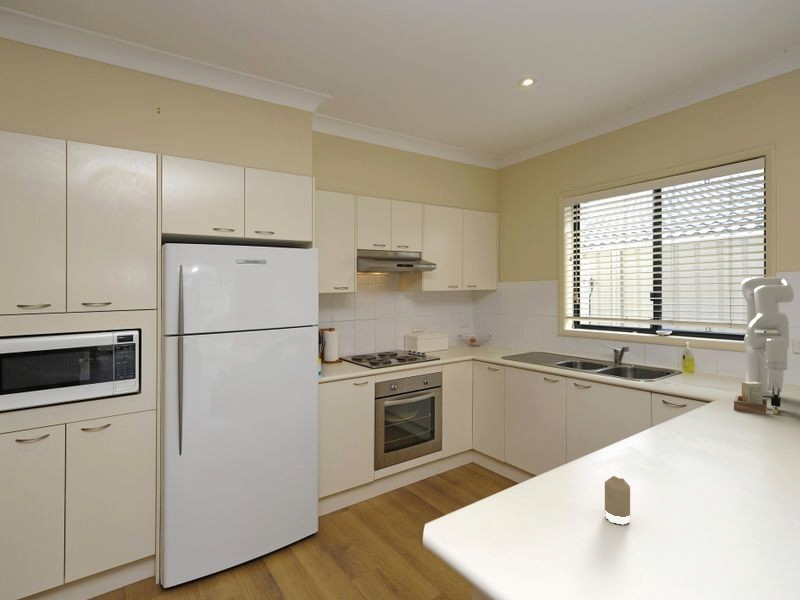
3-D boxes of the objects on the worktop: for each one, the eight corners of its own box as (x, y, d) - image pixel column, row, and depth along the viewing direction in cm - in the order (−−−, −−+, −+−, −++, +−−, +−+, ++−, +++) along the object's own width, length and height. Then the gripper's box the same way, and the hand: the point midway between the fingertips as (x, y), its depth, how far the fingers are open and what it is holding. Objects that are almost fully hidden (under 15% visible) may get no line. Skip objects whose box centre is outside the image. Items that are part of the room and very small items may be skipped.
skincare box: (756, 407, 194) (756, 381, 193) (763, 410, 189) (763, 383, 189) (740, 407, 195) (741, 381, 194) (747, 410, 190) (747, 383, 190)
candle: (600, 514, 105) (600, 474, 105) (621, 512, 106) (621, 473, 106) (613, 526, 100) (613, 484, 100) (635, 525, 100) (635, 483, 100)
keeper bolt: (773, 408, 191) (773, 403, 191) (777, 409, 190) (777, 403, 190) (772, 413, 184) (772, 407, 184) (777, 414, 183) (777, 408, 183)
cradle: (736, 403, 201) (736, 395, 201) (766, 407, 194) (766, 399, 194) (733, 409, 191) (733, 400, 191) (766, 414, 184) (766, 405, 184)
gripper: (765, 362, 199) (765, 401, 199) (764, 367, 188) (764, 408, 188) (787, 364, 194) (786, 404, 194) (787, 369, 183) (787, 411, 183)
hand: (775, 405), depth 191 cm, fingers closed
